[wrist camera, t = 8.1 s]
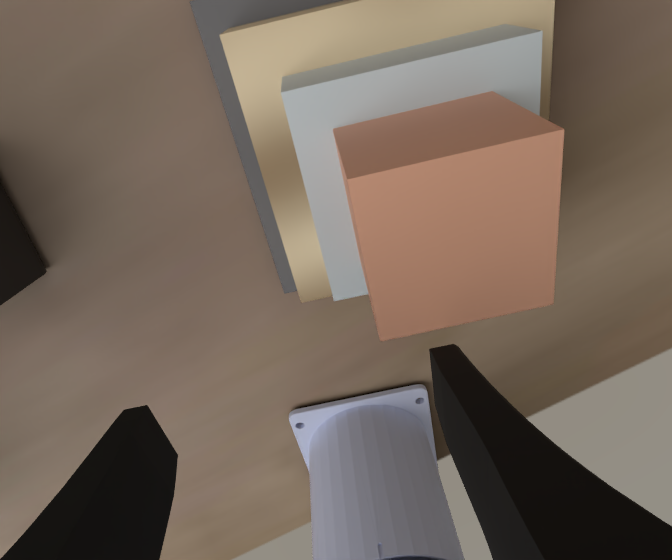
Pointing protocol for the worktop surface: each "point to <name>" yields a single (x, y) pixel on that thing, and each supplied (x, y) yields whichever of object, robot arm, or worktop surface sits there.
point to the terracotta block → (454, 211)
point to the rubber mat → (213, 19)
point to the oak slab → (332, 48)
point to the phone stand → (15, 253)
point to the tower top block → (387, 99)
